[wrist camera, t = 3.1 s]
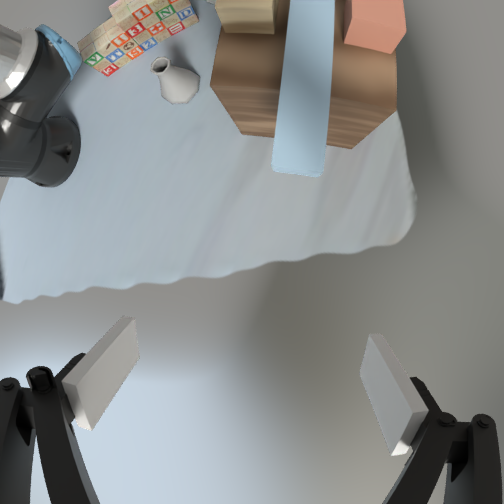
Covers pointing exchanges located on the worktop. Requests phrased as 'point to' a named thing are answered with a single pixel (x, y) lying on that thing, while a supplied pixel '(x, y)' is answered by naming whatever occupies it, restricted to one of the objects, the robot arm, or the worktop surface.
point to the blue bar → (305, 89)
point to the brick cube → (374, 24)
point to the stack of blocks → (134, 31)
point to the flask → (175, 81)
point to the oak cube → (248, 15)
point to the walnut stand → (270, 74)
